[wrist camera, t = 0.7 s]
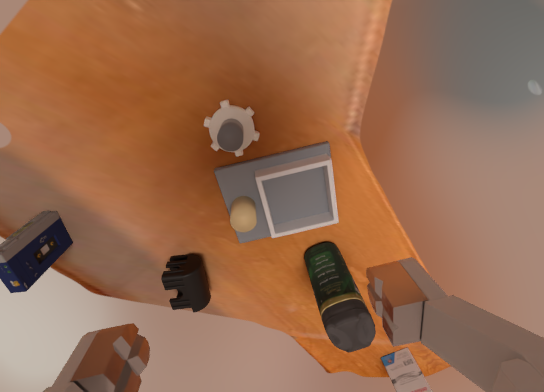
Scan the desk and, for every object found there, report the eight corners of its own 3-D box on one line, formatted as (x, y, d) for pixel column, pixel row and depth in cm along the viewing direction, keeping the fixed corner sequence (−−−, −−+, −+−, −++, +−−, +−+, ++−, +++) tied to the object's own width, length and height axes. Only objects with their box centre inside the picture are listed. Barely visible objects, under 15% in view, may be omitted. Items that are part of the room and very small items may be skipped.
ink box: (384, 364, 78) (405, 410, 68) (380, 356, 76) (401, 403, 66) (411, 354, 77) (436, 400, 67) (407, 346, 75) (433, 392, 65)
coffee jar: (298, 249, 54) (320, 330, 38) (333, 235, 53) (371, 312, 37) (313, 279, 59) (339, 362, 42) (345, 266, 58) (385, 346, 41)
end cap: (212, 285, 57) (209, 311, 51) (180, 289, 57) (173, 315, 51) (204, 250, 52) (198, 274, 46) (169, 254, 52) (159, 279, 46)
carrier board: (214, 168, 44) (210, 183, 39) (327, 141, 44) (338, 152, 38) (240, 239, 52) (239, 260, 46) (336, 217, 51) (347, 235, 46)
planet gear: (199, 106, 39) (190, 114, 33) (249, 93, 39) (250, 99, 33) (217, 157, 43) (212, 173, 37) (262, 146, 43) (265, 160, 37)
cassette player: (73, 243, 49) (25, 293, 38) (60, 244, 48) (8, 295, 38) (56, 209, 45) (-2, 255, 34) (42, 211, 45) (-20, 256, 34)
